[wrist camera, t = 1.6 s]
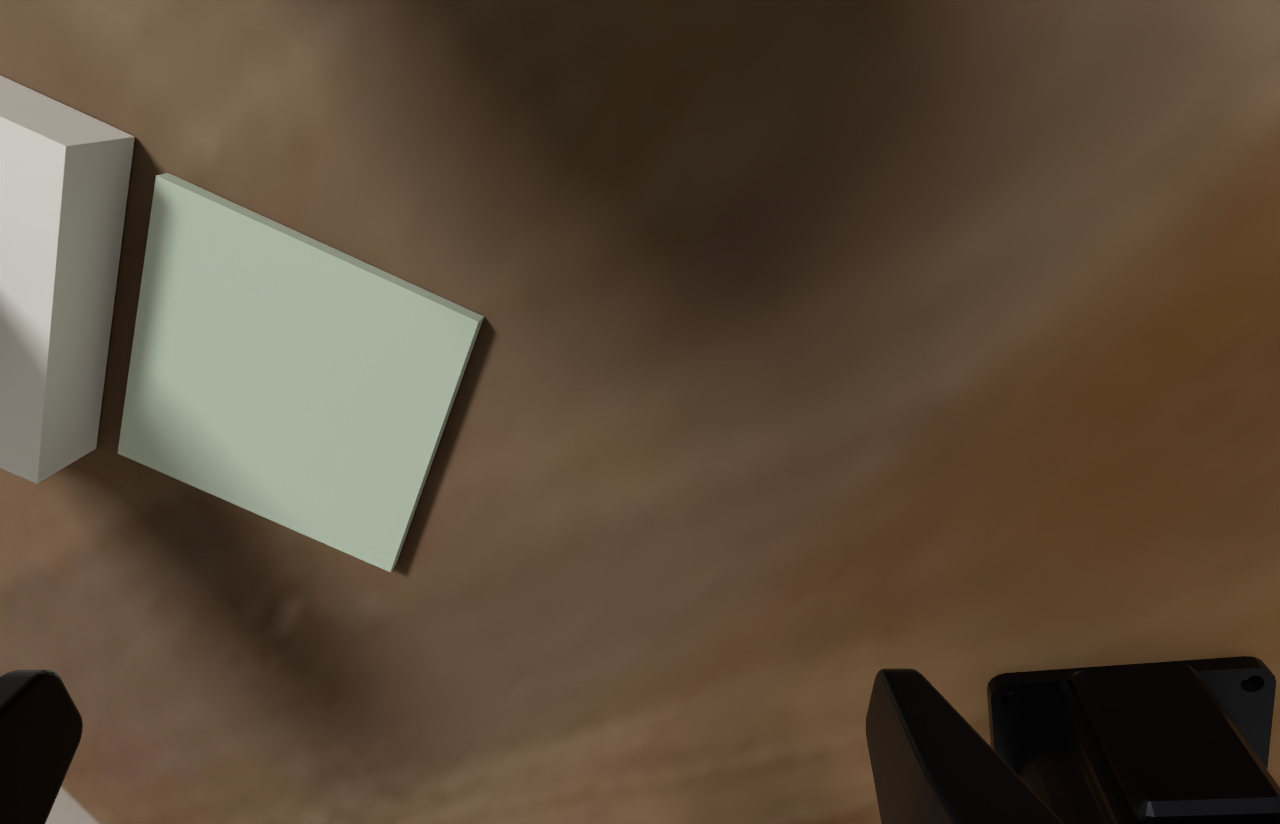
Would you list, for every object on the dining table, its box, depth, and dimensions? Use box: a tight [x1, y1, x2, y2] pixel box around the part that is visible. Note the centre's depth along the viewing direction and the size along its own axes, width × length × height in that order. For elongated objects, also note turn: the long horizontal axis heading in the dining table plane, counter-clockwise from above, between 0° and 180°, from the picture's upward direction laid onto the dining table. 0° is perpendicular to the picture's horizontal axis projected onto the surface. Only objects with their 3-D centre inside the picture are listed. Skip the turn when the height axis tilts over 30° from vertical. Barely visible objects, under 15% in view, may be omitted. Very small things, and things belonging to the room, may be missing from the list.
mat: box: [118, 173, 484, 572], centre depth 20 cm, size 8×8×1 cm
